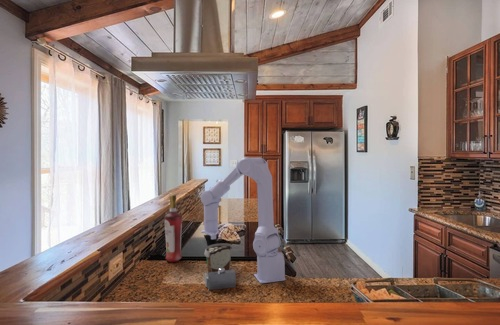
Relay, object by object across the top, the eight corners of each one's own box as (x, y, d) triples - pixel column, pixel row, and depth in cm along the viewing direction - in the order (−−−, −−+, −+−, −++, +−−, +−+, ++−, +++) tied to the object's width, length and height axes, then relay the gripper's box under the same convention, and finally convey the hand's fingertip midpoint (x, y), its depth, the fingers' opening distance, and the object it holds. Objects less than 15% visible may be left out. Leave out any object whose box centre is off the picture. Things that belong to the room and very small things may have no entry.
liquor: (161, 260, 124) (160, 195, 124) (175, 256, 130) (174, 193, 129) (171, 264, 119) (170, 196, 119) (186, 259, 125) (185, 194, 125)
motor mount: (232, 278, 105) (232, 261, 105) (237, 286, 97) (236, 268, 97) (204, 281, 102) (204, 264, 102) (207, 290, 95) (206, 271, 95)
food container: (221, 266, 117) (220, 241, 117) (232, 269, 113) (232, 243, 113) (197, 275, 107) (197, 248, 107) (209, 279, 103) (208, 251, 103)
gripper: (199, 216, 126) (199, 248, 126) (203, 223, 112) (203, 259, 112) (215, 215, 128) (215, 246, 128) (221, 222, 114) (221, 257, 114)
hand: (211, 252), depth 120 cm, fingers closed
